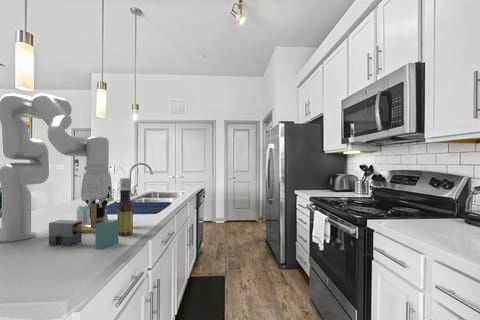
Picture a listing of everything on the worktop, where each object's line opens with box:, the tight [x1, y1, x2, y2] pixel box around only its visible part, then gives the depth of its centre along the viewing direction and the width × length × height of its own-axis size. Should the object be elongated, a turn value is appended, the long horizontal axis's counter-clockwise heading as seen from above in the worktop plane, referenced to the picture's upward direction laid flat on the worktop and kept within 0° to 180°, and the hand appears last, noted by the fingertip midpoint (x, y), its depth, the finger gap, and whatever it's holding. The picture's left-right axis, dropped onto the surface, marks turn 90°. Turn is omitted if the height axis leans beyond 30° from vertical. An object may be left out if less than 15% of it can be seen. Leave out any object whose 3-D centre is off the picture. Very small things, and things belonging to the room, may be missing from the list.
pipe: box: [118, 166, 132, 199], centre depth 129 cm, size 6×6×30 cm
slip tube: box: [73, 201, 104, 235], centre depth 101 cm, size 16×4×12 cm, turn 81°
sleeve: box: [48, 219, 83, 247], centre depth 103 cm, size 10×6×8 cm, turn 81°
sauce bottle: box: [116, 188, 134, 237], centre depth 116 cm, size 6×6×20 cm
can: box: [76, 204, 91, 225], centre depth 123 cm, size 7×7×12 cm
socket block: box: [94, 219, 119, 250], centre depth 100 cm, size 4×8×9 cm, turn 171°
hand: (97, 217), depth 101 cm, fingers closed on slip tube, 2 cm apart
